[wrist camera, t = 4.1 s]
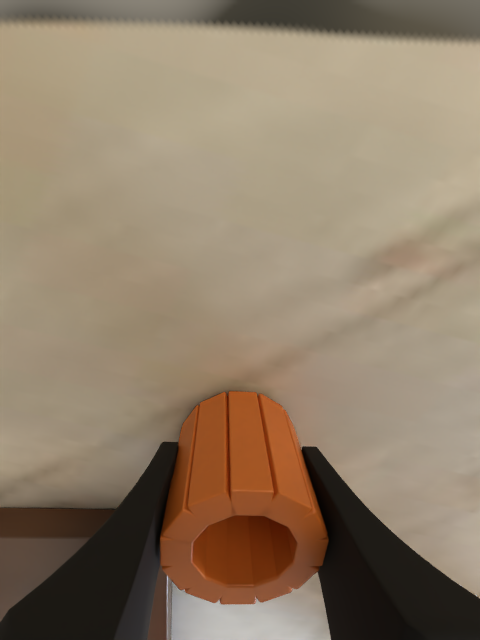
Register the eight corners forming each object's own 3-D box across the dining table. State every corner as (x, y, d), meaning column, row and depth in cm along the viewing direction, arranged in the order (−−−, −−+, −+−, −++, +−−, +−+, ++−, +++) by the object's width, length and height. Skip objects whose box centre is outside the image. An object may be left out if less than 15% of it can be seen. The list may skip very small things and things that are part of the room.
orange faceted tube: (301, 393, 13) (342, 492, 9) (285, 483, 15) (312, 604, 11) (182, 388, 13) (158, 488, 8) (180, 480, 15) (159, 606, 10)
